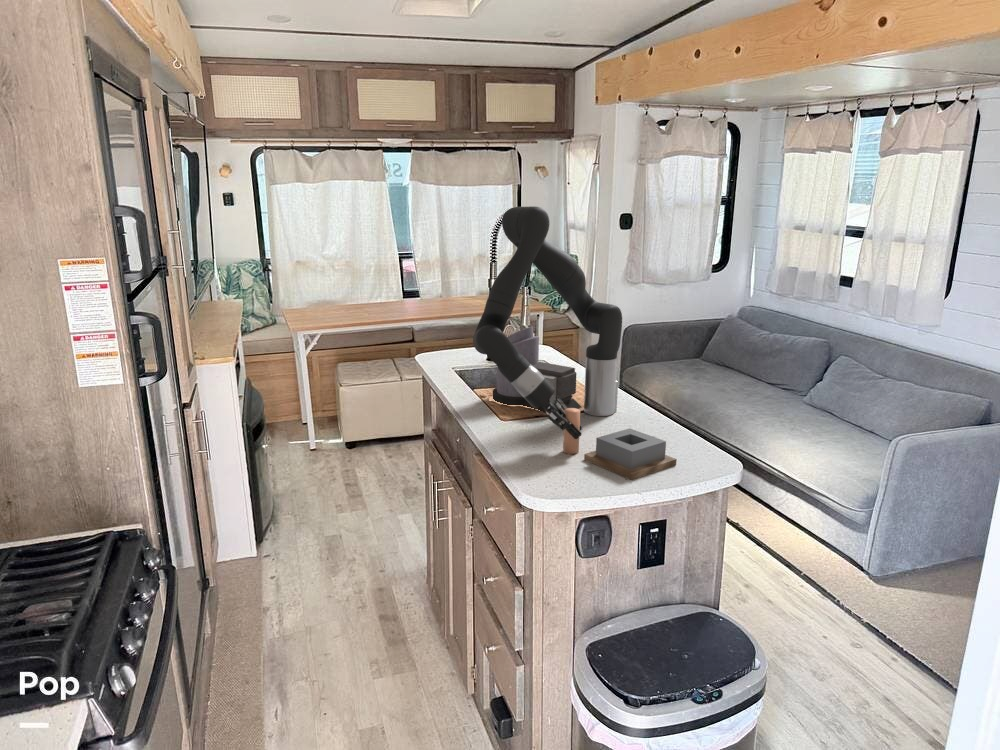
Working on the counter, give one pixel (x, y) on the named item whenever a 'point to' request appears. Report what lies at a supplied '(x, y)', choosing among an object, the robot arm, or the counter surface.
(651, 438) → the socket
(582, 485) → the counter surface
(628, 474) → the socket board
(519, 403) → the juicer
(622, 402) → the counter surface
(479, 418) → the counter surface
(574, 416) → the peg
